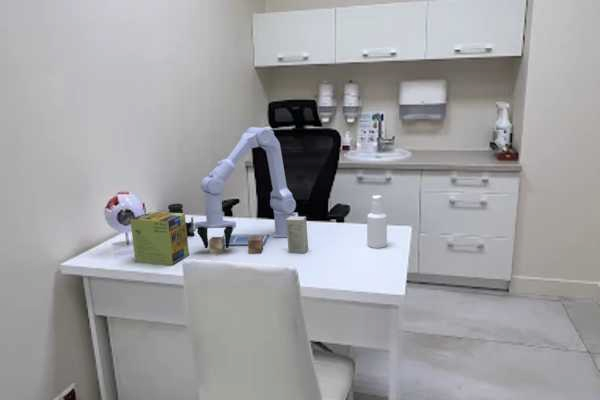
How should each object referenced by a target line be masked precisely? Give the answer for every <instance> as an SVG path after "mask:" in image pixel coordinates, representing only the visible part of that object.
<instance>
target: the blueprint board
mask: <svg viewBox="0 0 600 400" xmlns="http://www.w3.org/2000/svg"><path fill="white" fill-rule="evenodd" d="M250 236H263V247H265V245H266V243H267V241H268V239H269V236H270V233H258V234H257V233H254V234H253V233H251V234H249V233H248V234H247V233H245V234H243V233H242V234H231V237H230V243H229V247H248V239H249V238H250ZM222 237H224V240H225V234H223V236H222ZM225 247H226V240H225Z"/></svg>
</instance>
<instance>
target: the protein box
mask: <svg viewBox="0 0 600 400" xmlns="http://www.w3.org/2000/svg"><path fill="white" fill-rule="evenodd" d="M129 221H130V227H131V228H130V230H131V236H132V245H133V253H134V261H135V262H136V263H143V264H144V263H145V264H146V263H147V264H153V265H154V264H155V265H165V266H174V265H175V264H178V263H180V262H181V261H182V260H184V259H185V258H187V257H188V256H190V252H189V251H190V250H189V240H188V237H187V230H186V223H187V222H186V213H184V212H183V213H169V211H168V212H164V211H163V212H162V211H161V212H159V211H147V212H145V213H142V214H140V215H138V216H135V217H132V218H130V220H129Z"/></svg>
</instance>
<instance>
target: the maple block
mask: <svg viewBox="0 0 600 400" xmlns="http://www.w3.org/2000/svg"><path fill="white" fill-rule="evenodd" d="M208 248H209V255H223V254H224V252H225V251H226V246H225V240H224V237H223V236H211V238H209V240H208Z"/></svg>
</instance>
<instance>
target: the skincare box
mask: <svg viewBox="0 0 600 400" xmlns="http://www.w3.org/2000/svg"><path fill="white" fill-rule="evenodd" d="M286 226H287V237H286V238H287V247H288V248H287V249H288V253H295V254H306V253H307V251H308V250H309V241H308V226H307V216H298V217H297V216H290V217H289V218H287V219H286Z"/></svg>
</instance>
